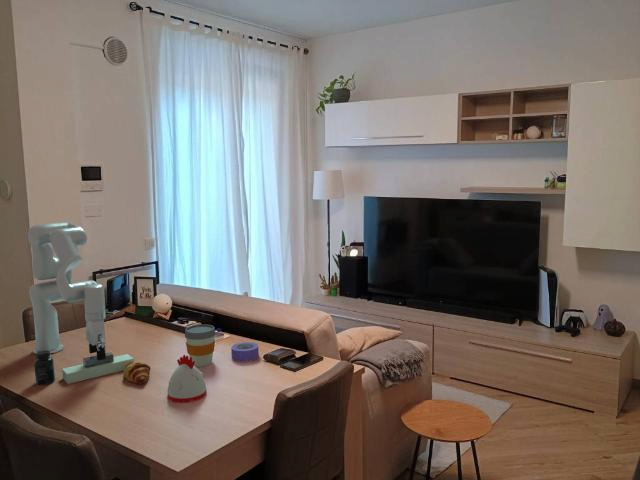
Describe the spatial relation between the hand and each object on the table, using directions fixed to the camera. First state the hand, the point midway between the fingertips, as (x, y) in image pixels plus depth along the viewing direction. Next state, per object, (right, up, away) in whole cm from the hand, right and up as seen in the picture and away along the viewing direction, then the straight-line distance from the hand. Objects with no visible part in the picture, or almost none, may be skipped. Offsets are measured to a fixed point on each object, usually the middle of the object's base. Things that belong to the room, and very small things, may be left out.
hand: (97, 356), depth 222 cm
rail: (+1, -7, +1) cm, 7 cm away
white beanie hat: (+41, -10, -21) cm, 47 cm away
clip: (+1, -7, +1) cm, 7 cm away
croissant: (+18, -8, -4) cm, 20 cm away
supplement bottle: (-17, -9, -8) cm, 21 cm away
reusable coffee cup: (+40, -5, +11) cm, 42 cm away
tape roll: (+57, -5, +18) cm, 60 cm away
